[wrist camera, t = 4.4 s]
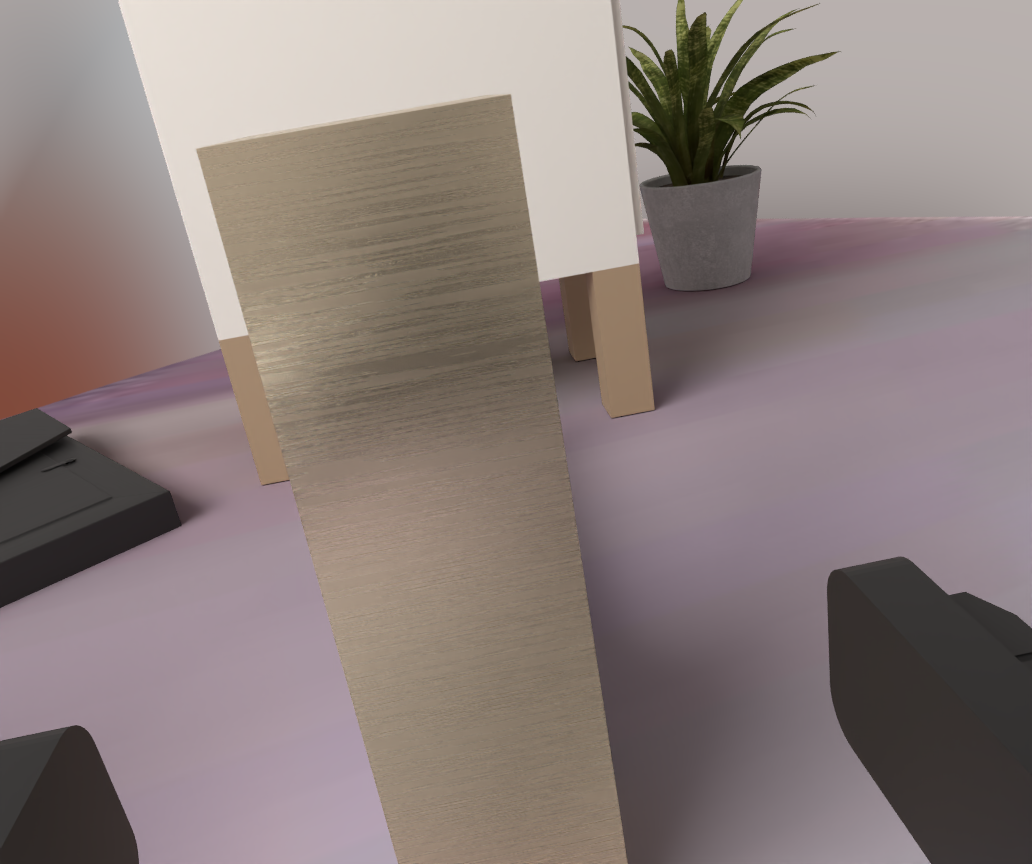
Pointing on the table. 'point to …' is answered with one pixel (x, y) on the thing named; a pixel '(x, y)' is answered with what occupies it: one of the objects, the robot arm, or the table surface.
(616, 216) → the cabinet
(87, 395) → the table surface
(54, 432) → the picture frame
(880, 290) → the table surface
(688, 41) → the house plant
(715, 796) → the table surface
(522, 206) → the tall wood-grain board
